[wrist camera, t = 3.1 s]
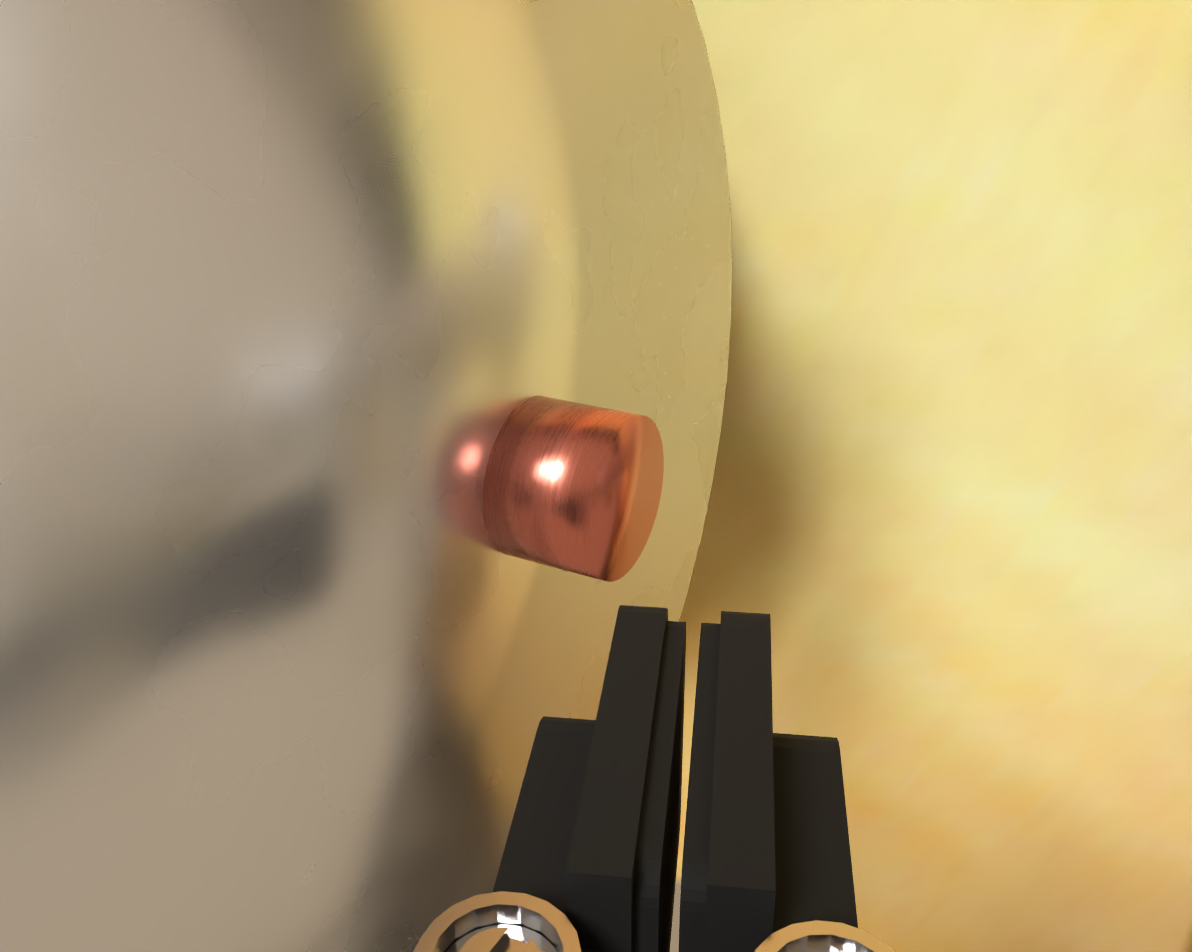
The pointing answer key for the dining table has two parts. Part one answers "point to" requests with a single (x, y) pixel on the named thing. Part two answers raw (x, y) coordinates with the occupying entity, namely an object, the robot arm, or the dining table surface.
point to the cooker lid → (332, 440)
